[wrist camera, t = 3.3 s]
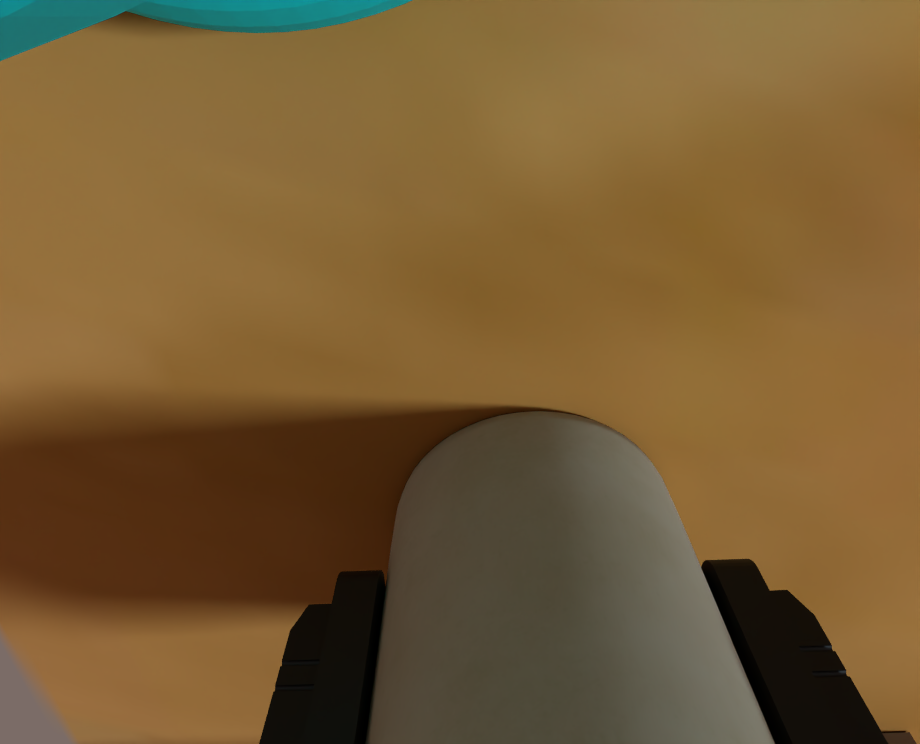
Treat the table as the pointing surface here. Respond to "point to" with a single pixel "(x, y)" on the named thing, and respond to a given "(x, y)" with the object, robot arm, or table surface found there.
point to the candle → (550, 600)
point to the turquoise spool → (174, 16)
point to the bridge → (899, 738)
